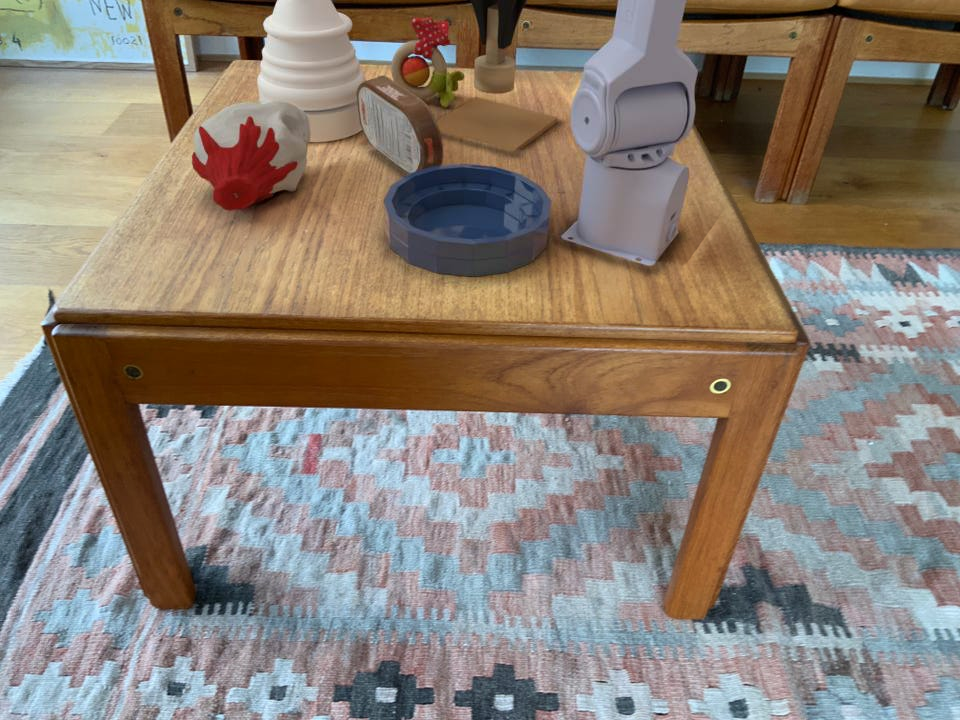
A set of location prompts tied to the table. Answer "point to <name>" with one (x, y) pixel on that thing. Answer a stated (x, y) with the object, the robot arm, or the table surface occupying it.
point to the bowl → (467, 219)
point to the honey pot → (312, 66)
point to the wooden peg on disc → (494, 62)
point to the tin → (399, 124)
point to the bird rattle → (417, 69)
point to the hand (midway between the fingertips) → (496, 44)
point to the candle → (251, 151)
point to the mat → (495, 124)
